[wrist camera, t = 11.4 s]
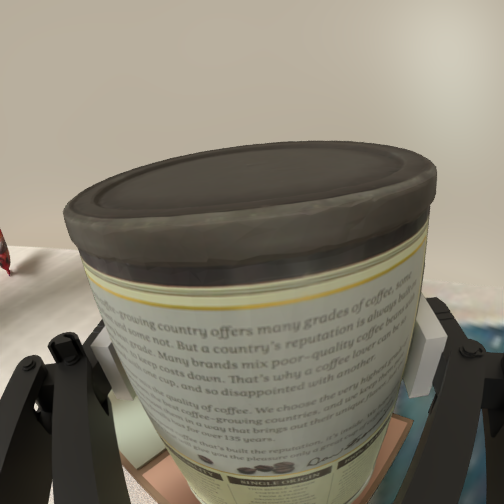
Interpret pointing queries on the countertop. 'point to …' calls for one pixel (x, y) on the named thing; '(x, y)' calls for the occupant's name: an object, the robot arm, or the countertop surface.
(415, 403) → the countertop surface
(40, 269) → the countertop surface
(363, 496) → the green brown wooden board
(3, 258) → the decorative bird figurine
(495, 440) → the robot arm
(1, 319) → the countertop surface
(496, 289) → the countertop surface
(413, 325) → the coffee can
